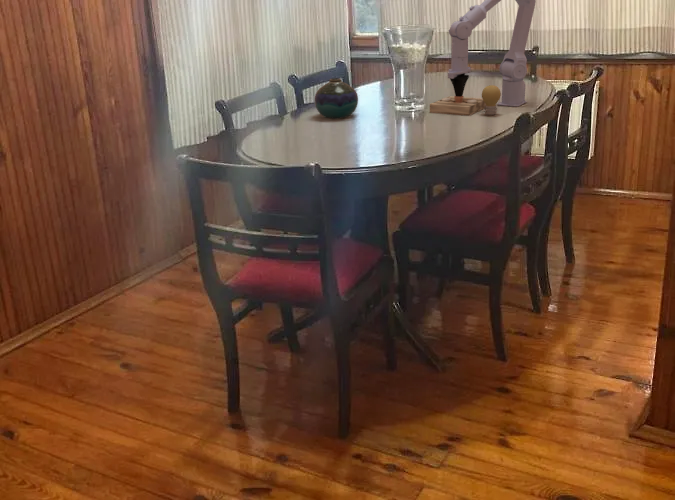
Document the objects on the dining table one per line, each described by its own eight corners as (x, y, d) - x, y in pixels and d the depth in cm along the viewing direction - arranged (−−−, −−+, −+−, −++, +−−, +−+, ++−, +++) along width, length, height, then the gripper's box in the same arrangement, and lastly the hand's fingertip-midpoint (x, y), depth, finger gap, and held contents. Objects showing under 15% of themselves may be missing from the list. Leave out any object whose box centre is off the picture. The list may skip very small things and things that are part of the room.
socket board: (449, 104, 275) (449, 96, 274) (487, 107, 267) (487, 98, 266) (429, 112, 263) (429, 104, 262) (468, 115, 255) (468, 107, 254)
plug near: (469, 107, 264) (469, 99, 263) (477, 107, 262) (477, 99, 261) (465, 108, 261) (465, 100, 260) (473, 109, 260) (474, 101, 259)
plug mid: (456, 102, 266) (456, 95, 265) (464, 103, 264) (465, 95, 263) (452, 104, 264) (452, 96, 263) (460, 105, 262) (461, 97, 261)
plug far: (444, 105, 269) (444, 97, 268) (452, 105, 267) (452, 98, 266) (440, 106, 267) (440, 99, 266) (448, 107, 265) (448, 99, 264)
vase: (308, 120, 259) (306, 82, 254) (325, 111, 272) (323, 75, 267) (349, 122, 253) (347, 83, 248) (364, 113, 266) (363, 75, 261)
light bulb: (500, 116, 251) (501, 86, 248) (480, 116, 253) (481, 87, 249) (499, 112, 257) (501, 83, 253) (481, 112, 258) (482, 83, 255)
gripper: (458, 53, 265) (457, 91, 271) (439, 59, 254) (439, 98, 260) (476, 54, 262) (475, 93, 267) (458, 60, 251) (458, 100, 256)
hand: (458, 96), depth 263 cm, fingers closed
